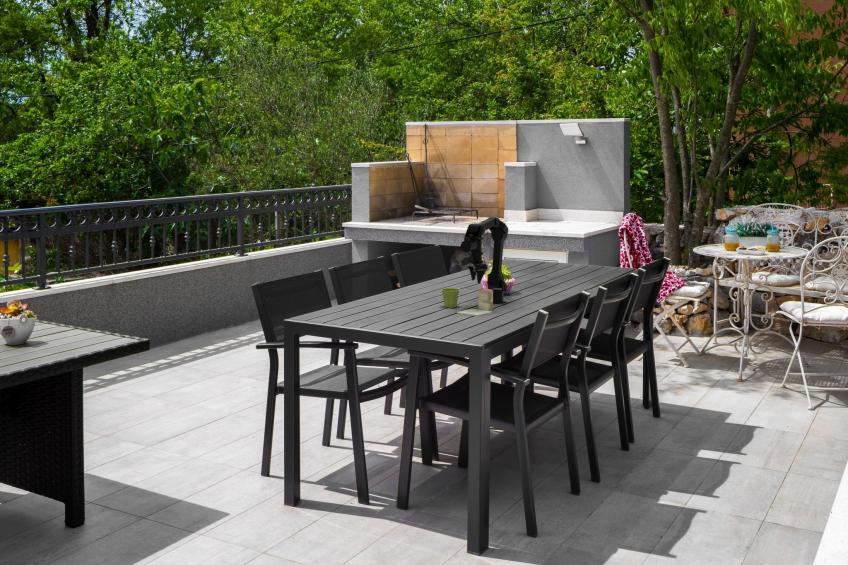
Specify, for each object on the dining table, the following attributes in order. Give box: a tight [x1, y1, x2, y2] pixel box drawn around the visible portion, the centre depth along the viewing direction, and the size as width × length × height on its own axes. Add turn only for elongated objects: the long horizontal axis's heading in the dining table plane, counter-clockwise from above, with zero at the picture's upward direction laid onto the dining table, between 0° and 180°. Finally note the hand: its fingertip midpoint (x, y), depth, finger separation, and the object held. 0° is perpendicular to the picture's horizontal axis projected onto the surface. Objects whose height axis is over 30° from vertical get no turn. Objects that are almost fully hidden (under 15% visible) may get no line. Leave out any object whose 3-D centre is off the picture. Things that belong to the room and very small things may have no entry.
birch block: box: [477, 288, 494, 311], centre depth 456 cm, size 5×5×10 cm
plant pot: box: [440, 287, 461, 309], centre depth 465 cm, size 9×9×9 cm
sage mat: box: [456, 308, 493, 317], centre depth 449 cm, size 12×12×1 cm
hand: (475, 281), depth 457 cm, fingers open, 9 cm apart
